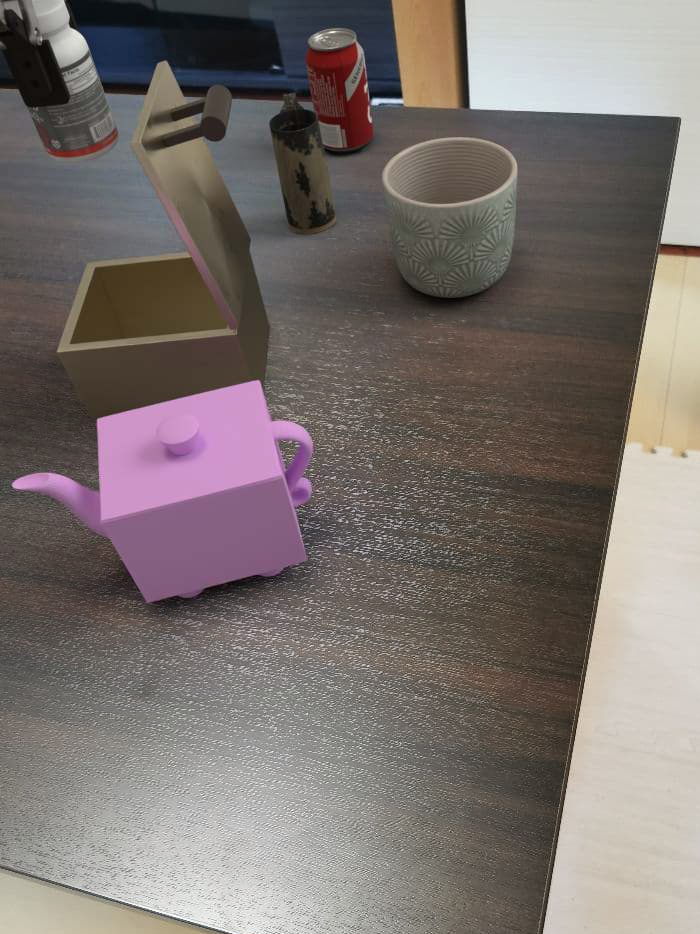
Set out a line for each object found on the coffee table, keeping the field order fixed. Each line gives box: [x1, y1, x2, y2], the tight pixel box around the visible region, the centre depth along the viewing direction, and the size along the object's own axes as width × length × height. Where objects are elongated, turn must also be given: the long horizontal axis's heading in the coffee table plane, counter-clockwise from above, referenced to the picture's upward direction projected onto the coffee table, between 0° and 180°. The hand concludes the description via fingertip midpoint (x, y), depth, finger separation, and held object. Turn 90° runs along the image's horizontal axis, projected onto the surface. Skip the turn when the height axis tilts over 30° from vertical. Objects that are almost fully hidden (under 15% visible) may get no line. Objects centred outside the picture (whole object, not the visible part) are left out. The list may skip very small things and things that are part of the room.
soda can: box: [305, 27, 374, 154], centre depth 100 cm, size 7×7×12 cm
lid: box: [129, 60, 252, 330], centre depth 65 cm, size 16×13×5 cm
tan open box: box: [56, 250, 271, 430], centre depth 75 cm, size 15×13×9 cm
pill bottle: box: [3, 0, 120, 164], centre depth 61 cm, size 6×6×10 cm
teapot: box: [11, 380, 314, 604], centre depth 60 cm, size 20×10×12 cm, turn 105°
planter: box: [381, 136, 519, 299], centre depth 81 cm, size 12×12×11 cm
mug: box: [268, 91, 338, 235], centre depth 90 cm, size 8×6×12 cm
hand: (58, 81), depth 61 cm, fingers closed on pill bottle, 5 cm apart
